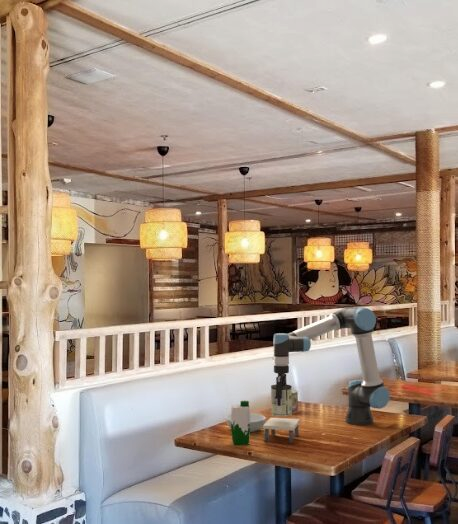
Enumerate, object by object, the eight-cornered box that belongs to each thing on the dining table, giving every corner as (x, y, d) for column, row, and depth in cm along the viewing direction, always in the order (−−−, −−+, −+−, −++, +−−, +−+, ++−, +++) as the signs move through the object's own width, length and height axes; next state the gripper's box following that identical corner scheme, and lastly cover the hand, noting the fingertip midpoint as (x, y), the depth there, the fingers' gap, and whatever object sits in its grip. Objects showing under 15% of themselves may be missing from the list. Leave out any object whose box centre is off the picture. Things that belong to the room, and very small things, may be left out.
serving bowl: (217, 431, 318) (217, 417, 318) (244, 424, 333) (244, 411, 334) (247, 437, 304) (247, 423, 304) (273, 430, 319) (273, 416, 320)
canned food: (286, 414, 357) (285, 393, 358) (275, 410, 367) (275, 390, 368) (301, 412, 363) (301, 391, 363) (290, 408, 373) (290, 389, 373)
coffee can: (271, 412, 307) (271, 384, 308) (291, 412, 306) (291, 384, 307) (270, 416, 297) (270, 387, 298) (292, 416, 296) (291, 387, 297)
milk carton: (250, 445, 289) (250, 403, 289) (231, 446, 288) (231, 403, 289) (248, 440, 297) (248, 399, 298) (230, 441, 297) (230, 400, 297)
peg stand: (299, 435, 308) (299, 419, 308) (293, 444, 291) (293, 427, 291) (270, 433, 312) (270, 417, 312) (263, 442, 295) (262, 425, 295)
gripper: (278, 361, 314) (278, 405, 314) (269, 367, 293) (269, 414, 292) (292, 362, 312) (293, 405, 312) (284, 368, 291) (284, 415, 290)
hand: (281, 409), depth 302 cm, fingers closed on coffee can, 10 cm apart
